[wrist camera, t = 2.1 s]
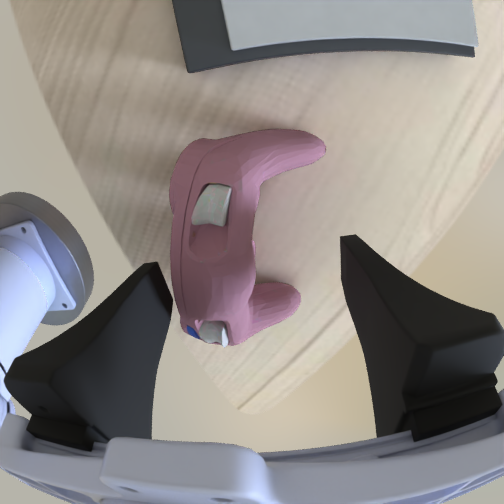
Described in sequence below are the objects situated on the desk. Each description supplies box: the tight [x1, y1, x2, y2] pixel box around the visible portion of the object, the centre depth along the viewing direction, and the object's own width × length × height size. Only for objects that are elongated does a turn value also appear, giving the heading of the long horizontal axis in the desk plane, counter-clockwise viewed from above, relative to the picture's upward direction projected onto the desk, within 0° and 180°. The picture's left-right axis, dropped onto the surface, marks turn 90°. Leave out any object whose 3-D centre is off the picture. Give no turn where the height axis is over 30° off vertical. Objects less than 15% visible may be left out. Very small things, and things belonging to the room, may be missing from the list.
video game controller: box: [169, 129, 326, 348], centre depth 14 cm, size 10×5×7 cm
